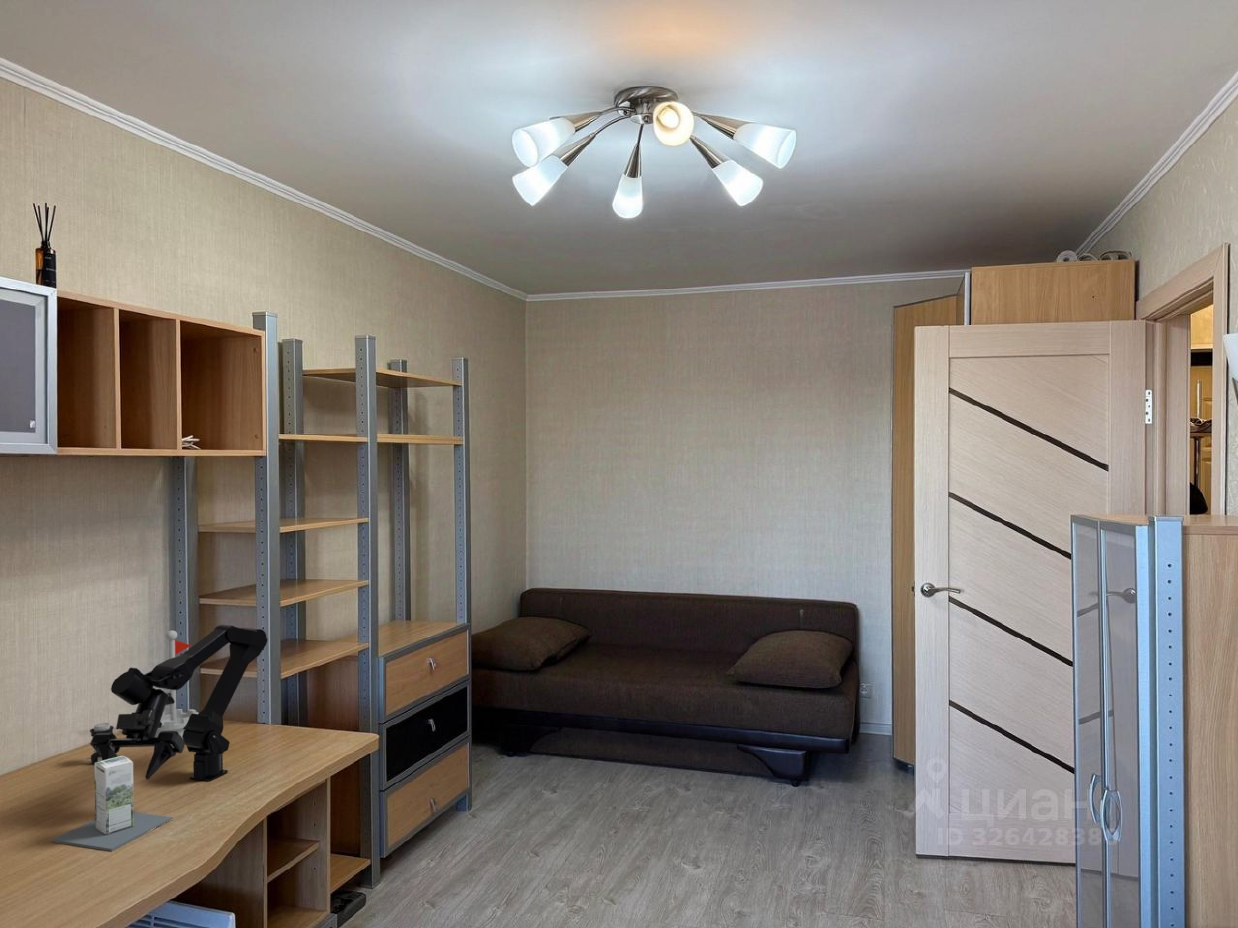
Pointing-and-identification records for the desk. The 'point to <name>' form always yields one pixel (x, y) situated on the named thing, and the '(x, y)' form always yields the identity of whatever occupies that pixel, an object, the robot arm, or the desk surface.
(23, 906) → the desk surface
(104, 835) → the slate mat
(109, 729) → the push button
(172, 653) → the flag stand
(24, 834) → the desk surface
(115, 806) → the syrup box
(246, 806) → the desk surface
